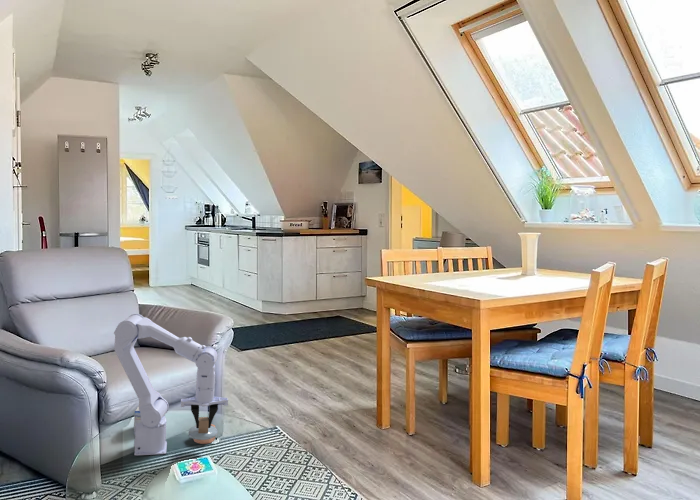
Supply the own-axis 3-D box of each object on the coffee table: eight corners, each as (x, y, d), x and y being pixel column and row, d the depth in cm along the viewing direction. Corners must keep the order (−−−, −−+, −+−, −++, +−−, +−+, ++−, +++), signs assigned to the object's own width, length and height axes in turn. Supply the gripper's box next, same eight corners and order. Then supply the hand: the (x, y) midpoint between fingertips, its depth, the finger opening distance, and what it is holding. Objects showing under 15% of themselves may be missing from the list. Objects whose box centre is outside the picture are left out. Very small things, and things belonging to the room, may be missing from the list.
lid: (188, 440, 180) (189, 425, 179) (188, 427, 188) (189, 413, 188) (218, 439, 182) (218, 424, 182) (216, 426, 191) (217, 412, 190)
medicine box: (139, 425, 201) (140, 401, 200) (152, 425, 202) (153, 402, 201) (133, 435, 194) (134, 410, 192) (146, 435, 194) (147, 411, 193)
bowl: (193, 444, 191) (194, 433, 190) (193, 434, 198) (193, 423, 197) (215, 443, 193) (216, 432, 192) (214, 433, 200) (214, 422, 199)
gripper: (181, 391, 177) (179, 433, 179) (229, 390, 181) (227, 431, 183) (181, 383, 184) (179, 423, 186) (228, 382, 188) (225, 421, 190)
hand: (203, 426), depth 185 cm, fingers closed on lid, 3 cm apart
